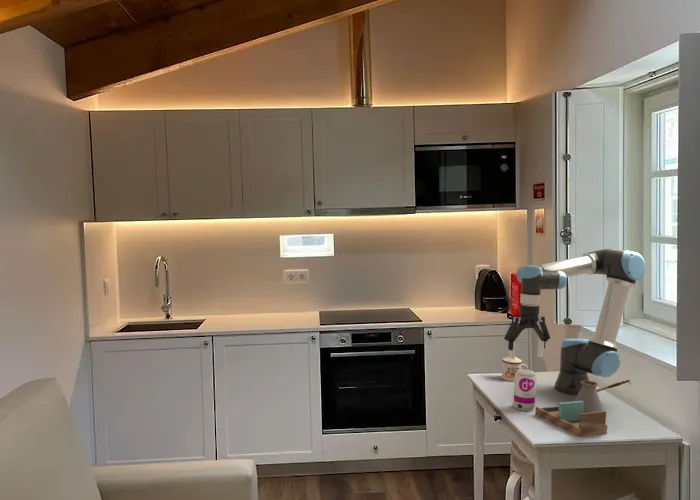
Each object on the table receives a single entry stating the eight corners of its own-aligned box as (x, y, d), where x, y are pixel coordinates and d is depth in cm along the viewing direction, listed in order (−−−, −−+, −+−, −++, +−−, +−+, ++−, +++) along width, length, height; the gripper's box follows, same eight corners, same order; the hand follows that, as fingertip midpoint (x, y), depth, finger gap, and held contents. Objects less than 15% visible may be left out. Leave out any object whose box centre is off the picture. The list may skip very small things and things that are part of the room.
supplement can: (535, 412, 254) (537, 374, 253) (513, 410, 256) (515, 373, 254) (533, 406, 262) (535, 369, 261) (512, 404, 263) (514, 367, 262)
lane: (535, 414, 251) (536, 394, 250) (562, 411, 256) (563, 392, 255) (578, 436, 229) (579, 414, 228) (606, 433, 234) (608, 411, 233)
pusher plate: (557, 421, 241) (559, 402, 240) (580, 418, 245) (581, 400, 244) (560, 422, 239) (561, 404, 239) (582, 420, 243) (584, 401, 243)
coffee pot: (575, 418, 248) (577, 380, 247) (568, 409, 260) (570, 372, 258) (633, 422, 246) (635, 384, 245) (623, 413, 257) (626, 376, 256)
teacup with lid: (503, 381, 296) (505, 356, 295) (498, 376, 305) (500, 351, 305) (529, 382, 297) (531, 357, 296) (524, 376, 306) (525, 352, 305)
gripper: (549, 302, 263) (545, 353, 265) (497, 303, 254) (494, 356, 256) (561, 305, 256) (557, 358, 258) (508, 306, 247) (505, 361, 249)
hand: (526, 357), depth 257 cm, fingers open, 13 cm apart
